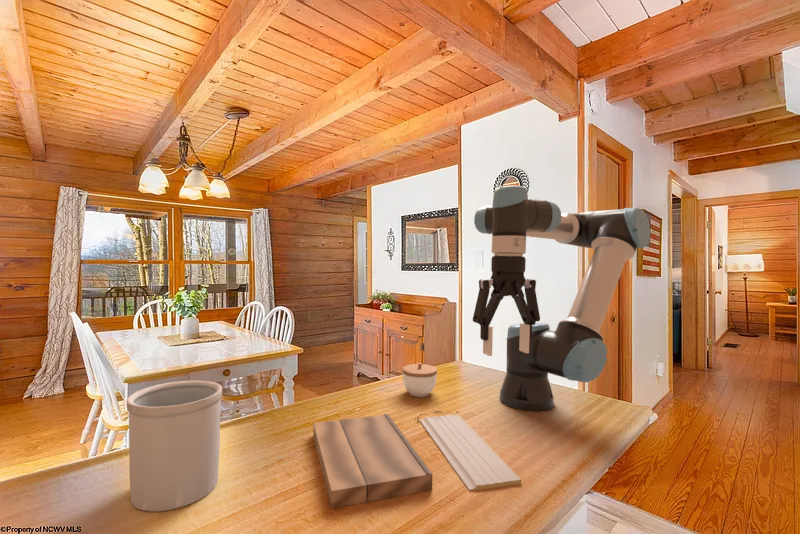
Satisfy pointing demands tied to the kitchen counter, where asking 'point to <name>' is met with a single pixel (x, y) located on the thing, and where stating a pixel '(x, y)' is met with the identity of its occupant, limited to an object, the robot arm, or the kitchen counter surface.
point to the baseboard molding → (468, 453)
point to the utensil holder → (173, 443)
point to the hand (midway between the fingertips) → (506, 353)
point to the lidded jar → (419, 379)
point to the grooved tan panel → (368, 461)
